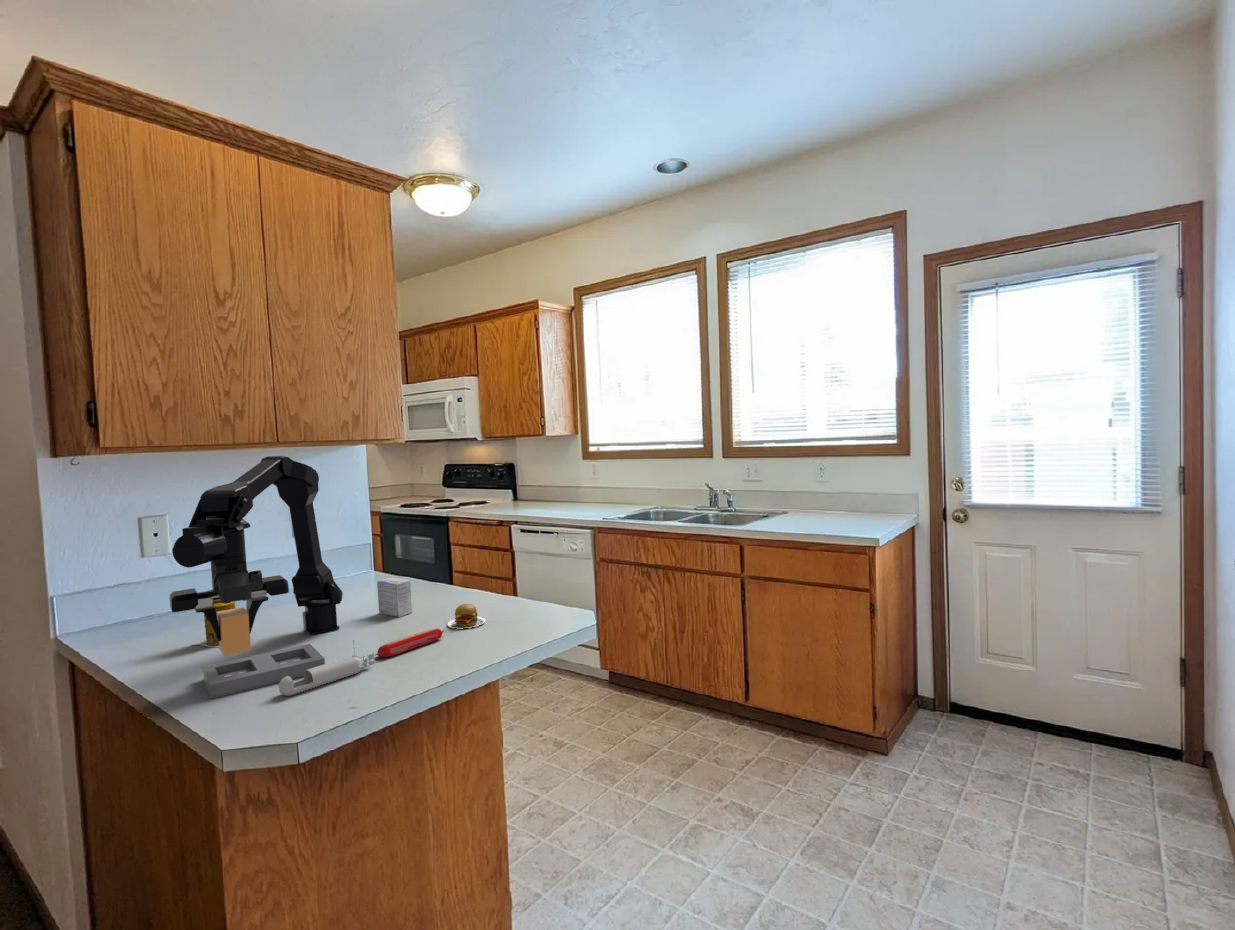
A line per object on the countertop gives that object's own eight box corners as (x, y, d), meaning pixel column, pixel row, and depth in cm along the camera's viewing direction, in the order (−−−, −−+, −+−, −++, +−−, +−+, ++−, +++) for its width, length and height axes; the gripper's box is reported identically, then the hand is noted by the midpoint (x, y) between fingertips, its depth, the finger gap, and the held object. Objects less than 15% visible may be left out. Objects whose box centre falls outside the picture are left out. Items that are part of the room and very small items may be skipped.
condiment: (219, 647, 142) (215, 594, 141) (191, 645, 145) (187, 593, 144) (247, 637, 149) (244, 586, 148) (219, 635, 152) (216, 585, 151)
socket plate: (310, 655, 135) (309, 643, 135) (325, 670, 125) (324, 658, 125) (203, 679, 123) (202, 666, 123) (211, 698, 114) (210, 684, 113)
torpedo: (286, 702, 111) (284, 665, 111) (274, 695, 114) (272, 660, 114) (380, 669, 125) (379, 636, 125) (367, 665, 128) (366, 632, 128)
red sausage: (436, 637, 145) (435, 624, 145) (446, 640, 143) (445, 626, 142) (372, 659, 132) (371, 645, 132) (383, 662, 130) (382, 648, 129)
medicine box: (412, 613, 164) (411, 579, 164) (398, 617, 161) (396, 583, 160) (392, 609, 169) (391, 577, 168) (378, 613, 165) (376, 580, 164)
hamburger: (474, 616, 162) (473, 594, 161) (502, 625, 153) (501, 602, 153) (431, 628, 153) (430, 605, 153) (457, 638, 145) (456, 614, 144)
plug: (243, 638, 127) (240, 604, 127) (250, 650, 120) (248, 613, 120) (217, 643, 124) (214, 608, 124) (223, 655, 117) (220, 618, 117)
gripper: (170, 570, 108) (177, 661, 109) (292, 554, 119) (297, 636, 120) (166, 561, 117) (173, 645, 118) (280, 546, 128) (285, 623, 129)
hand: (234, 637), depth 121 cm, fingers closed on plug, 4 cm apart
